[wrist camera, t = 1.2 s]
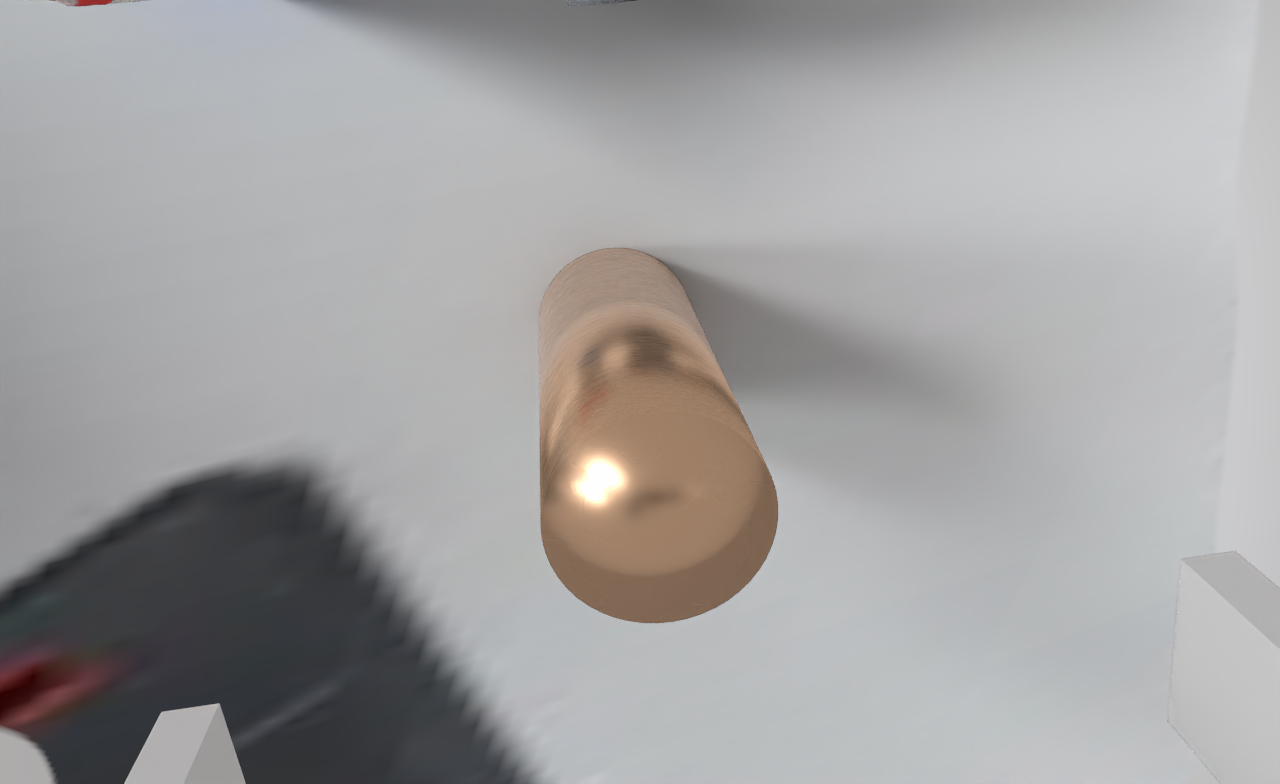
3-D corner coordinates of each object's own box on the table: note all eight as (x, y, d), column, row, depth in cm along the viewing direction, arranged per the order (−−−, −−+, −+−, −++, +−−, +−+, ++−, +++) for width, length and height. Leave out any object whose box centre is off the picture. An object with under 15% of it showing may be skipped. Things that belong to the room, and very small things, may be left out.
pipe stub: (551, 402, 31) (559, 639, 20) (528, 259, 30) (523, 430, 19) (697, 381, 32) (785, 604, 20) (682, 238, 30) (769, 394, 19)
